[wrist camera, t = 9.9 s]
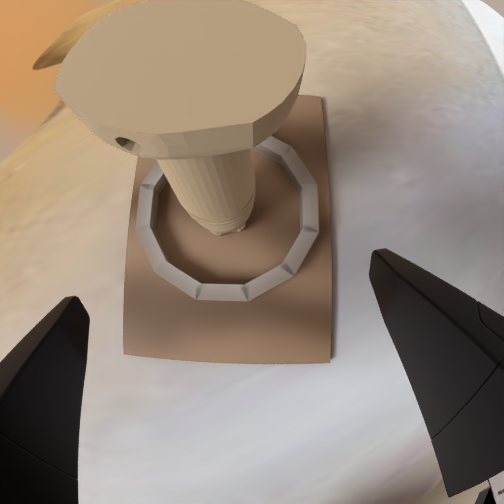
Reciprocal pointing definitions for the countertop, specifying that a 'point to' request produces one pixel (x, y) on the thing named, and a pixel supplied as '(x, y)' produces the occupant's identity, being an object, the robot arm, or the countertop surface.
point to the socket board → (237, 261)
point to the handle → (189, 94)
